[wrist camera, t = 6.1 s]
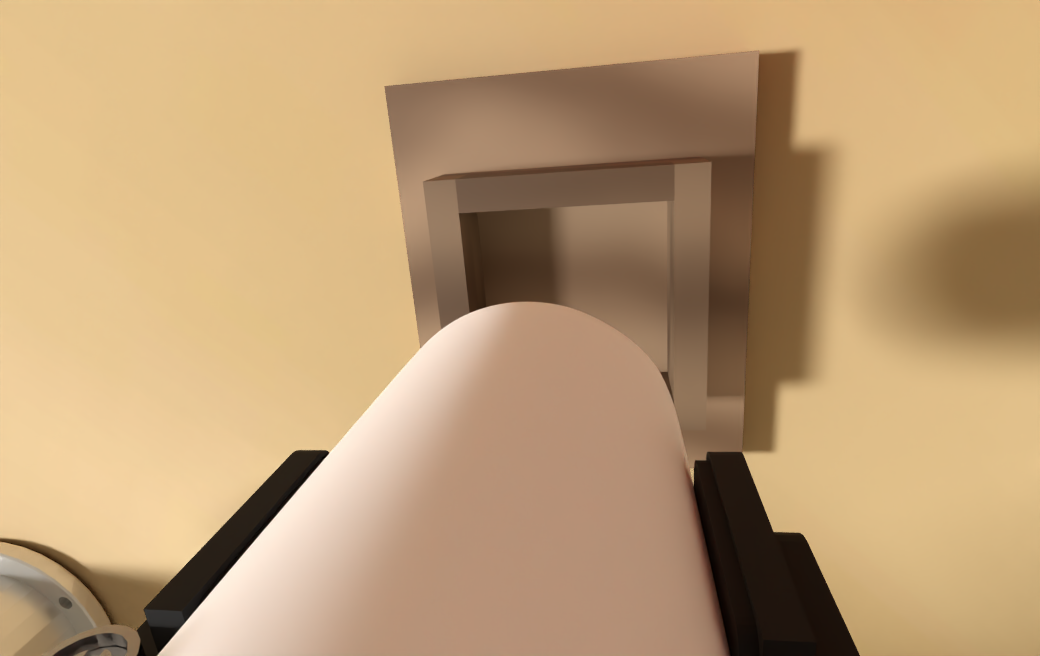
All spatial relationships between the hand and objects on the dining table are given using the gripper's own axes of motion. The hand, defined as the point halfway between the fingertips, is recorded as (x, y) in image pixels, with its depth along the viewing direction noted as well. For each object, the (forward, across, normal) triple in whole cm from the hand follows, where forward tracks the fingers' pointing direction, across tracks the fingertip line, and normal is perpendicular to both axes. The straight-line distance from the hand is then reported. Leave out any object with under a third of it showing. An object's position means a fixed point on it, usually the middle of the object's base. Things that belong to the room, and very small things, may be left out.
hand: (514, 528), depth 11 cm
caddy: (+17, 0, 0) cm, 17 cm away
